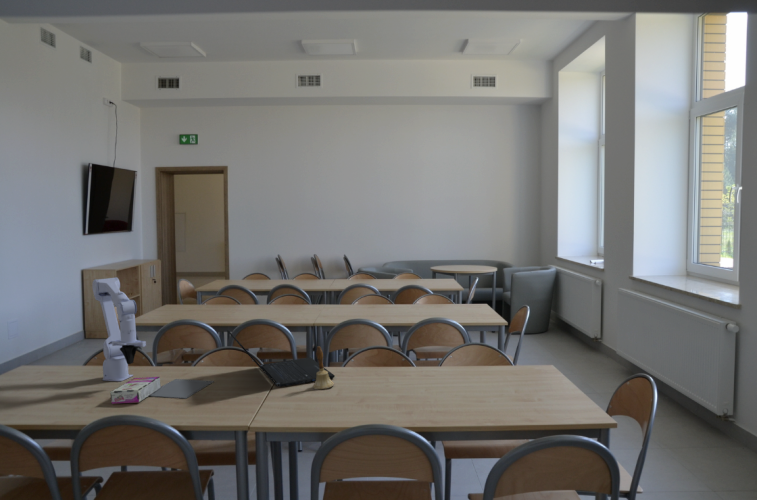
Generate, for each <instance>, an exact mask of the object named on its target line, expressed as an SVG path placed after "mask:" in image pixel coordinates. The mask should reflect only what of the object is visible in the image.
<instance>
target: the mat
mask: <svg viewBox="0 0 757 500" xmlns="http://www.w3.org/2000/svg"><path fill="white" fill-rule="evenodd" d="M213 383H215V380H203V379H200V380H199V379H184V378H183V379H182V378H175V379H173V380H171V381H168V382H167V383H165V384H164V385H161V388H160V389H158V390H157V391H155V392H154V393H152V394H151V395H149V396H148V397H150V398H169V399H180V400H181V399H182V400H186V399H188V398H190V397H191V396H193V395H196V393H198V392H200V391H201V390H203V389H204V388H206V387H208V386H210V385H212V384H213Z"/></svg>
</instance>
